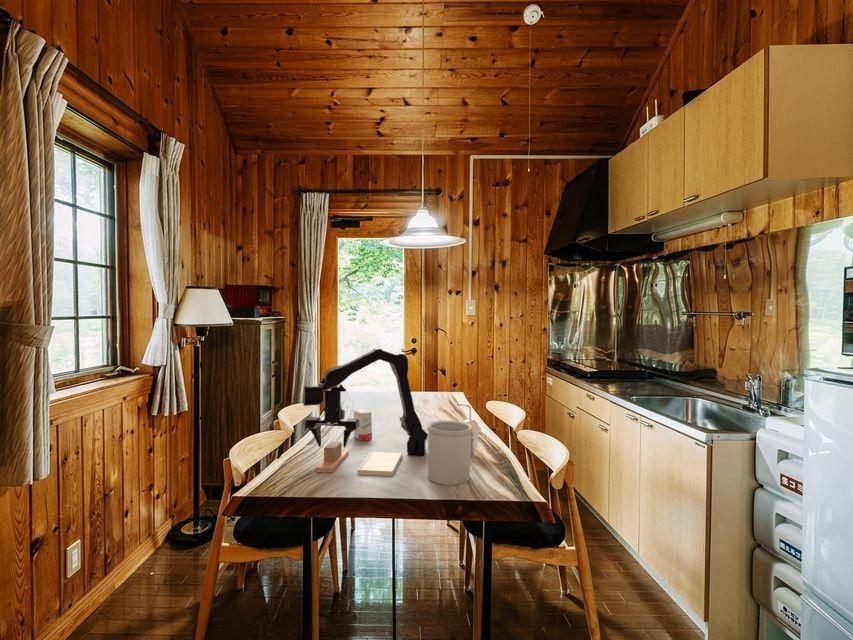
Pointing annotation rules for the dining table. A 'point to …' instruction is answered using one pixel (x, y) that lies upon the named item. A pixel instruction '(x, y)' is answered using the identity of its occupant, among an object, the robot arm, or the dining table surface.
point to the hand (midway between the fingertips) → (332, 447)
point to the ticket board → (380, 464)
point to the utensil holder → (449, 452)
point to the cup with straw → (474, 433)
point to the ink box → (363, 424)
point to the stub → (332, 457)
